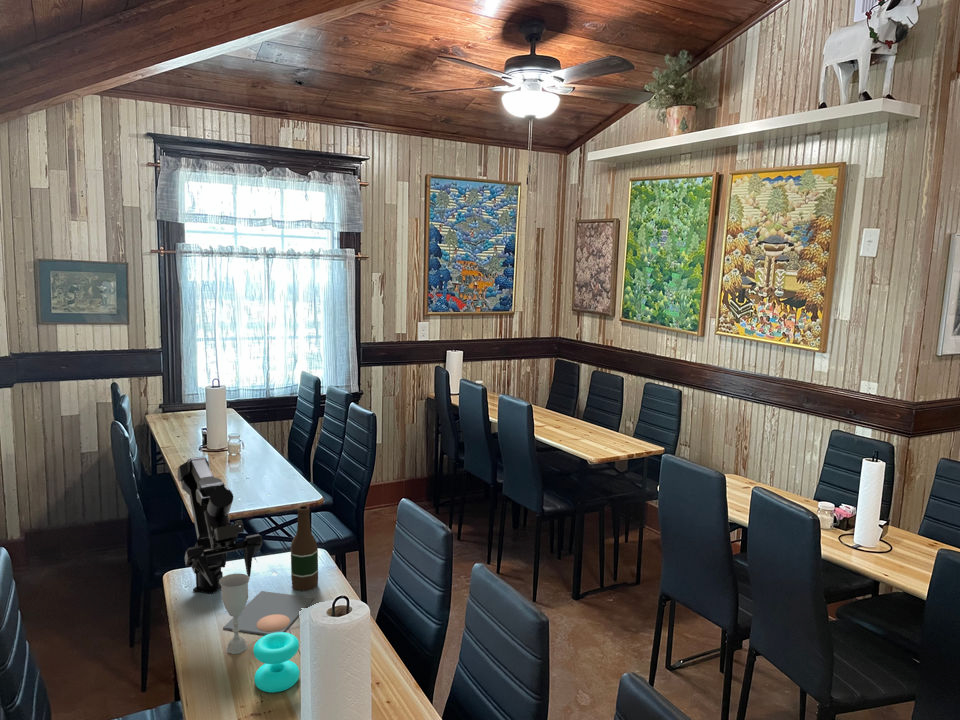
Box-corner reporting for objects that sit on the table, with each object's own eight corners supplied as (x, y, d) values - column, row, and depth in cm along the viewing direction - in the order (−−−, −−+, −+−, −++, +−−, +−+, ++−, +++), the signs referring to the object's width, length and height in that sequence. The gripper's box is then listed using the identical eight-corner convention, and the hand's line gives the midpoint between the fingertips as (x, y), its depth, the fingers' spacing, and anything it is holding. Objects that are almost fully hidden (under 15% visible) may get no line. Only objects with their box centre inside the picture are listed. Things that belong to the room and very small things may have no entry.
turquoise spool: (302, 648, 158) (255, 657, 154) (303, 689, 160) (257, 699, 156) (294, 626, 167) (250, 634, 163) (295, 664, 169) (252, 674, 165)
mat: (223, 629, 183) (223, 626, 183) (261, 592, 203) (261, 590, 203) (280, 637, 180) (280, 635, 180) (313, 599, 200) (313, 597, 200)
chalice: (257, 643, 177) (255, 576, 174) (240, 658, 171) (237, 589, 168) (233, 638, 179) (231, 571, 176) (215, 652, 173) (212, 583, 170)
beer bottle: (323, 585, 208) (322, 507, 204) (300, 594, 202) (299, 514, 198) (308, 576, 213) (307, 500, 209) (285, 585, 207) (284, 507, 203)
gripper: (184, 518, 177) (195, 576, 169) (259, 504, 187) (273, 559, 179) (180, 537, 185) (190, 594, 177) (252, 523, 195) (265, 576, 187)
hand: (230, 580), depth 180 cm, fingers open, 9 cm apart
